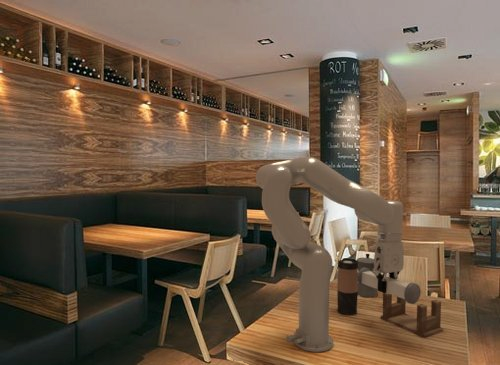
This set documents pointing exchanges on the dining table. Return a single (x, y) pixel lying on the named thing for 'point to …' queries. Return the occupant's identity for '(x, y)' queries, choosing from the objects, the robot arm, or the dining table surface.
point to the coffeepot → (369, 263)
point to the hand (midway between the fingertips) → (386, 290)
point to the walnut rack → (418, 325)
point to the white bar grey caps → (390, 286)
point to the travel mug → (347, 286)
